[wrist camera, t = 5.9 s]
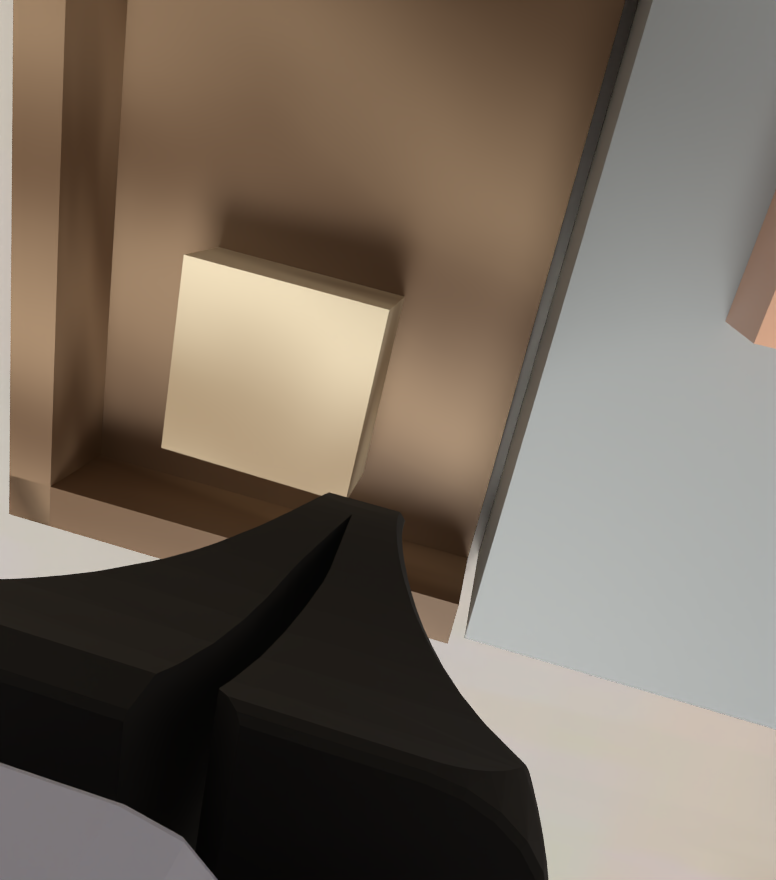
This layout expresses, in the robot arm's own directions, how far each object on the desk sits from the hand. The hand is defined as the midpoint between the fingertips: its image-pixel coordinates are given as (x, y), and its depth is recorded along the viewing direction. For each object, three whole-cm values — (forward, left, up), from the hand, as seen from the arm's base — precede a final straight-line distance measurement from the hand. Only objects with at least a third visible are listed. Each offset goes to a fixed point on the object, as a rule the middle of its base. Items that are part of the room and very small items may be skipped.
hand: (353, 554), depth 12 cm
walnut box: (+4, +4, -8) cm, 10 cm away
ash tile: (0, +4, -6) cm, 7 cm away
